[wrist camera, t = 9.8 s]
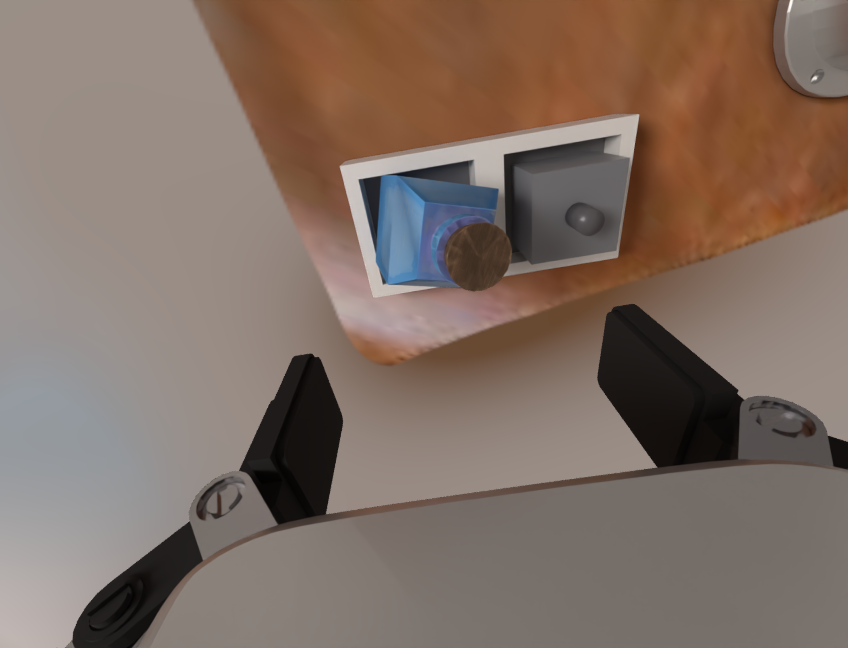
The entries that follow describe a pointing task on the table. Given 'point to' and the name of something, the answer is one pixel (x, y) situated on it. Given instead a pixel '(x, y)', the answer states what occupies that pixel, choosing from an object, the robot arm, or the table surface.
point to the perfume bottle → (439, 234)
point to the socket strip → (482, 179)
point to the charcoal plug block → (567, 205)
